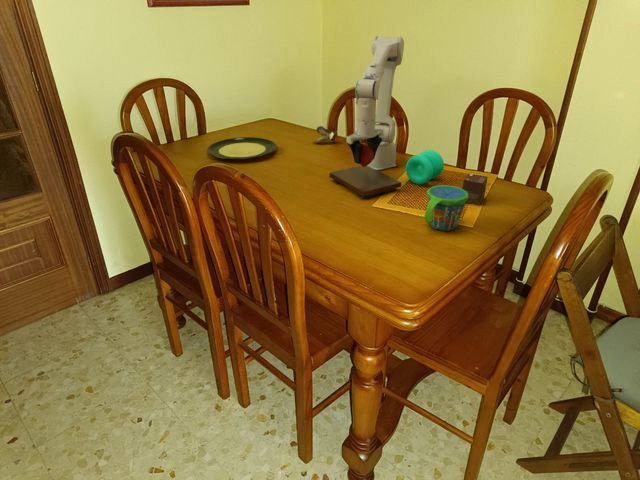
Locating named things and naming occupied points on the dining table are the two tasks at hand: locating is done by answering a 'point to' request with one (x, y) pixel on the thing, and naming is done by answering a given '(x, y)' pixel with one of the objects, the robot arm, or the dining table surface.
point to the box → (475, 188)
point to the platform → (365, 181)
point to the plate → (241, 148)
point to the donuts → (424, 167)
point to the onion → (366, 155)
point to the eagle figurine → (325, 134)
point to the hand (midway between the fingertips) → (364, 160)
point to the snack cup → (445, 206)
